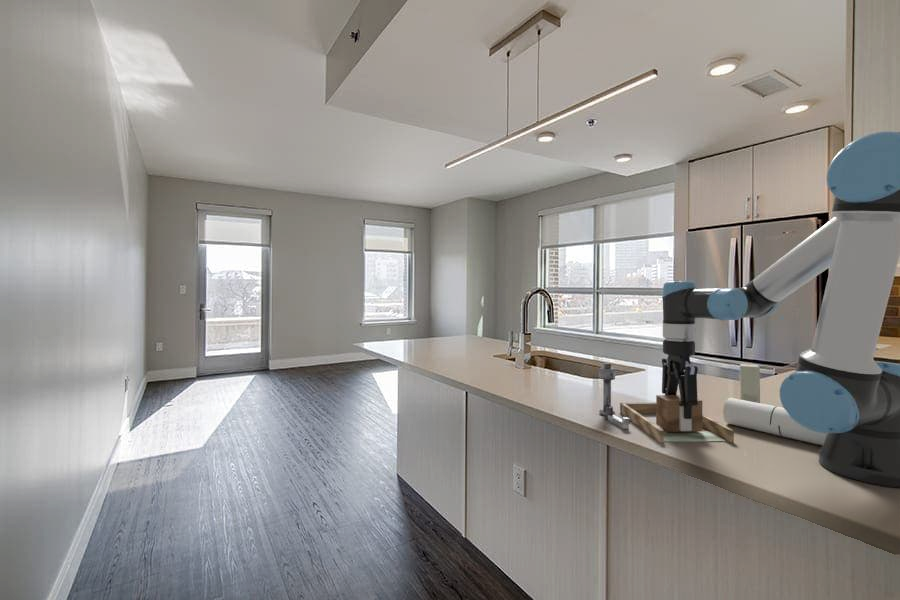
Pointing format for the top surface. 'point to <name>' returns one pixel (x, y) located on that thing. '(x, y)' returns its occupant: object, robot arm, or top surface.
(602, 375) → the post
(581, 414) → the top surface
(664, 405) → the block
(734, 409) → the cylindrical container
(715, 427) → the bay
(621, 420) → the crank handle
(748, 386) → the box
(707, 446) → the top surface
